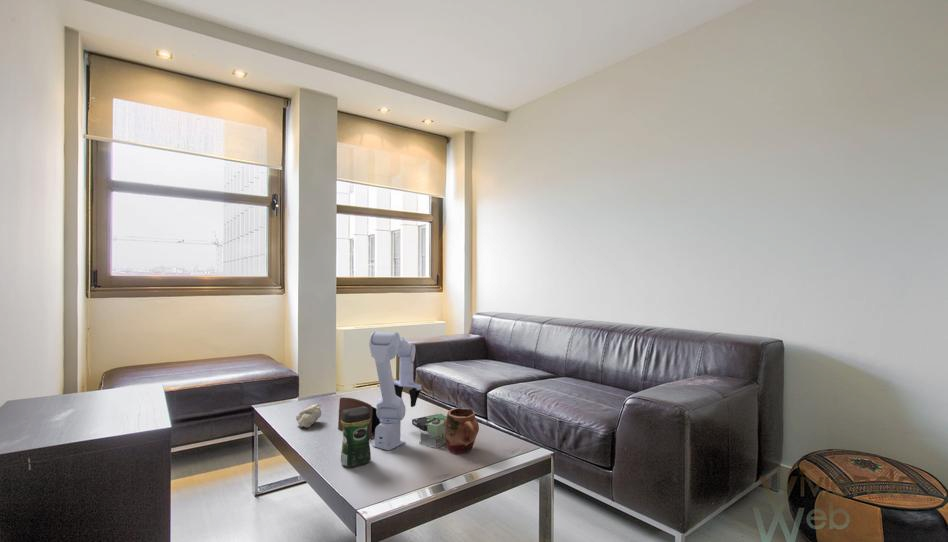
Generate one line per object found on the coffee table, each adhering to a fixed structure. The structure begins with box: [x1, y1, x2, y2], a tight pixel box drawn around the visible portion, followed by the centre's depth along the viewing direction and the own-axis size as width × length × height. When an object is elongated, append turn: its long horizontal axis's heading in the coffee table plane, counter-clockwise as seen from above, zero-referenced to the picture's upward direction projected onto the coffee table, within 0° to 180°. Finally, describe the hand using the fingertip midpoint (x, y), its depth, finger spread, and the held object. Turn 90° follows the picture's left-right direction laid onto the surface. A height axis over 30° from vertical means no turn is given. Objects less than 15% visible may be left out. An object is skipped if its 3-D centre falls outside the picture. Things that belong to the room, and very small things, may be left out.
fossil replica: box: [295, 403, 322, 429], centre depth 187 cm, size 12×8×10 cm
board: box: [426, 418, 445, 436], centre depth 171 cm, size 7×4×5 cm, turn 150°
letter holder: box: [337, 397, 381, 440], centre depth 180 cm, size 10×20×14 cm, turn 55°
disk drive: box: [411, 413, 447, 432], centre depth 189 cm, size 10×3×15 cm
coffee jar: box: [340, 406, 372, 468], centre depth 150 cm, size 10×8×19 cm
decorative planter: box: [444, 407, 480, 454], centre depth 161 cm, size 20×12×14 cm, turn 31°
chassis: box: [418, 431, 447, 449], centre depth 170 cm, size 12×8×4 cm, turn 149°
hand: (405, 404), depth 183 cm, fingers open, 7 cm apart
